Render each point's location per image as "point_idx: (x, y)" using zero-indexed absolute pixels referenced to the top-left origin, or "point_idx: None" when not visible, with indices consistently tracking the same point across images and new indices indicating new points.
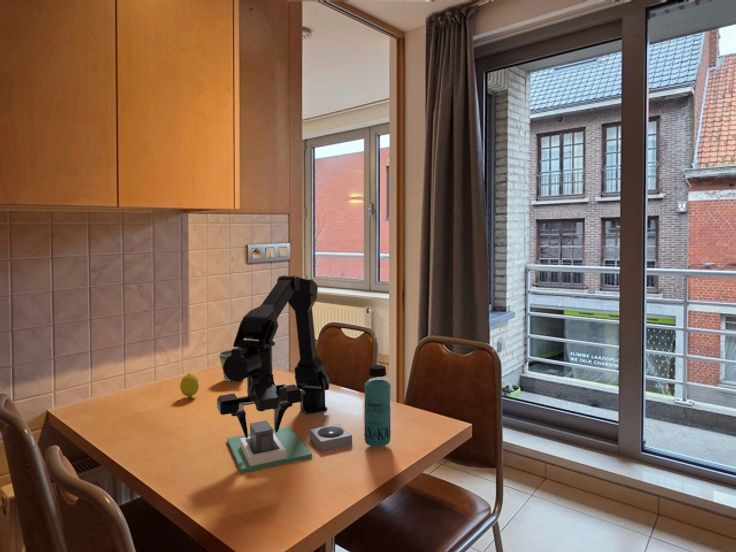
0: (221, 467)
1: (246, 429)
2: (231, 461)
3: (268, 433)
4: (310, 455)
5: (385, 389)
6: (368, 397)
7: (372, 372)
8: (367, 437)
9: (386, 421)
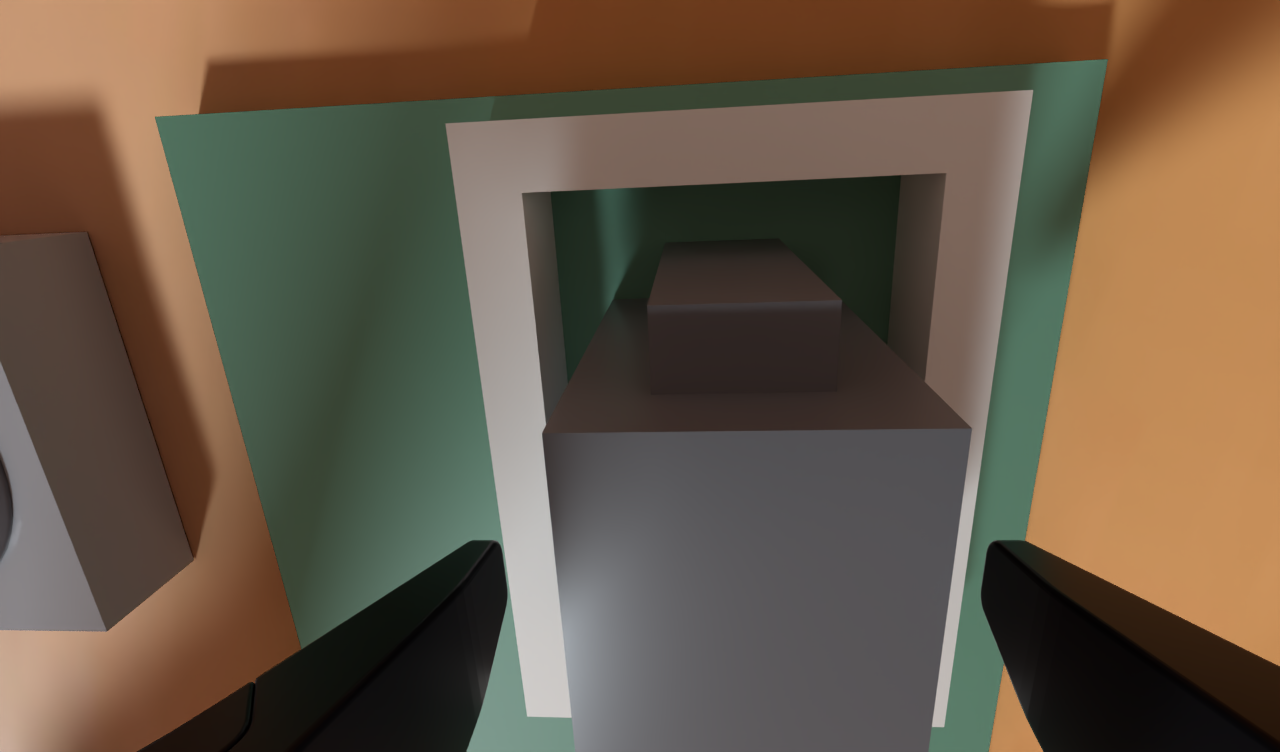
0: (1212, 341)
1: (1135, 629)
2: (1059, 433)
3: (657, 404)
4: (188, 116)
5: None
6: None
7: None
8: None
9: None
